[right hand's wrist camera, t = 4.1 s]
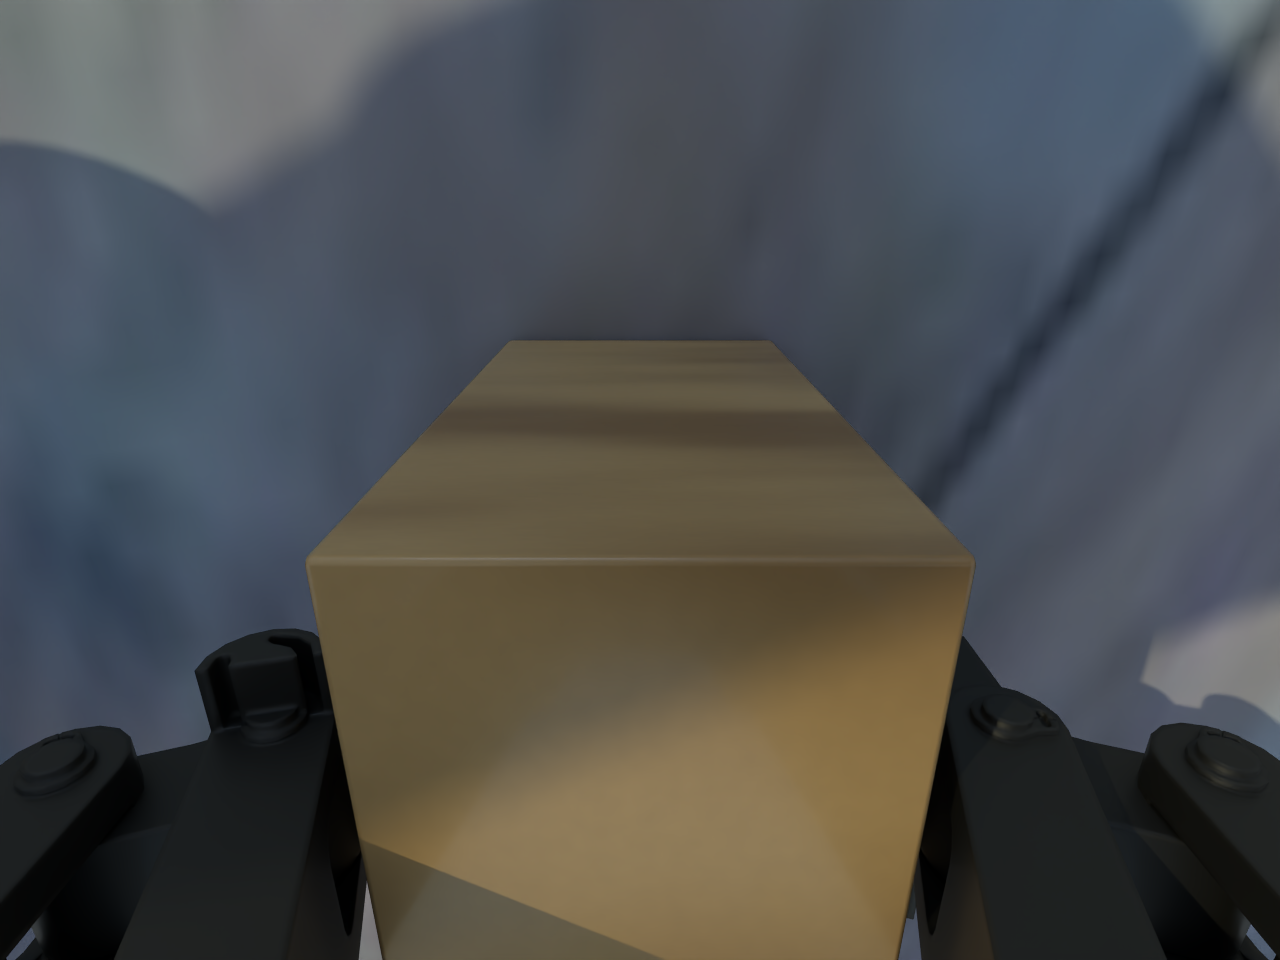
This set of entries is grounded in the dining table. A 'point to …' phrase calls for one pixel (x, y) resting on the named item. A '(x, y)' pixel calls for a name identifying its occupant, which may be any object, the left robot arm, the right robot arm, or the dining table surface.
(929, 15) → the dining table surface
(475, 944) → the bar
